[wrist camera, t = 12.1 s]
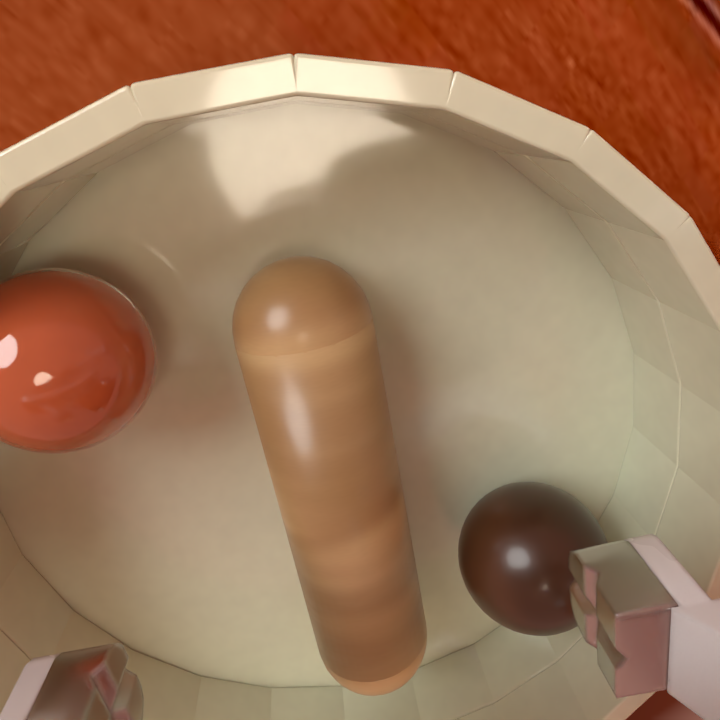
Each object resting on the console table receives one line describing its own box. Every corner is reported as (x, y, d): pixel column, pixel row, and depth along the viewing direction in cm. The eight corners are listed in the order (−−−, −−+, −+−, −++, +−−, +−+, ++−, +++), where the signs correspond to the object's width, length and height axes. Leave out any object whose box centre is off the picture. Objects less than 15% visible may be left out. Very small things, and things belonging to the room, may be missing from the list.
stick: (190, 273, 13) (264, 289, 11) (305, 236, 15) (390, 242, 13) (307, 675, 18) (376, 746, 16) (384, 612, 20) (455, 667, 17)
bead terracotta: (135, 220, 13) (-92, 251, 10) (205, 392, 12) (-15, 465, 10) (107, 296, 16) (-71, 332, 13) (161, 433, 15) (-12, 496, 13)
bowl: (363, -129, 12) (404, -282, 8) (746, 453, 19) (892, 560, 14) (-194, 431, 15) (-402, 562, 11) (300, 760, 22) (301, 928, 18)
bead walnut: (462, 477, 19) (588, 449, 17) (503, 594, 19) (634, 580, 17) (417, 528, 15) (571, 500, 13) (468, 673, 15) (629, 665, 13)
